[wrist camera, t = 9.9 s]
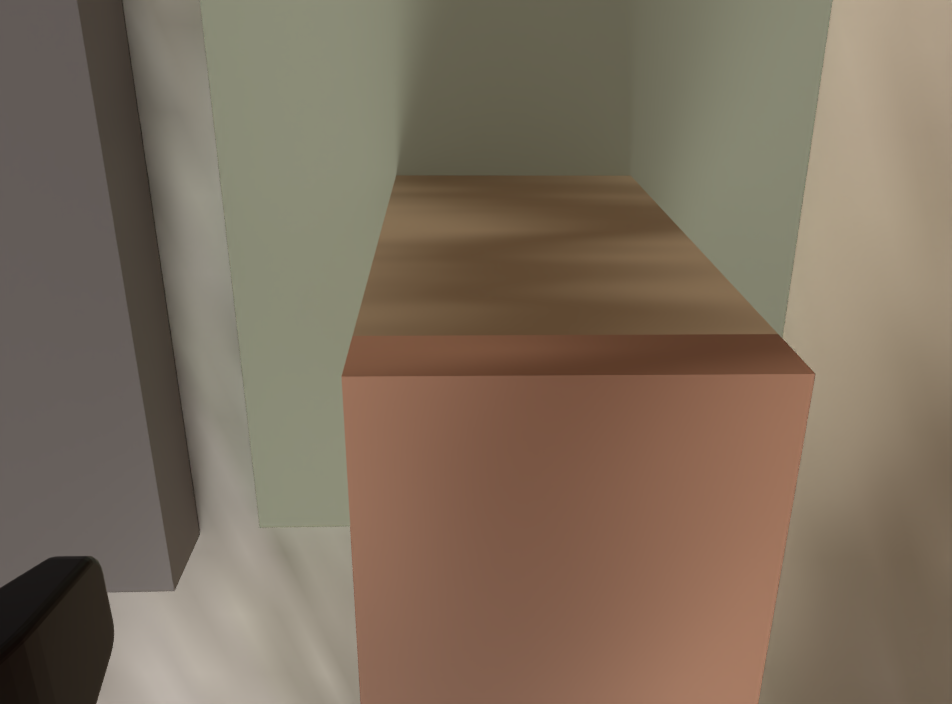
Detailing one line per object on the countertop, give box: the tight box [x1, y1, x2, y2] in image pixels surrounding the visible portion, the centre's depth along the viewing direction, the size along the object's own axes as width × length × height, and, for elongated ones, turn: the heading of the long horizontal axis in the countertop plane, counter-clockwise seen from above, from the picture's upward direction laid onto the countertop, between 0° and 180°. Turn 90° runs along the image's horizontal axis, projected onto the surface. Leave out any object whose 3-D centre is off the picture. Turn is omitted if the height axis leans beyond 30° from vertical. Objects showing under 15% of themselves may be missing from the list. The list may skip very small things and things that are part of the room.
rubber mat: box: [200, 0, 832, 528], centre depth 17 cm, size 11×11×1 cm
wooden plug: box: [341, 175, 815, 704], centre depth 13 cm, size 4×4×9 cm
